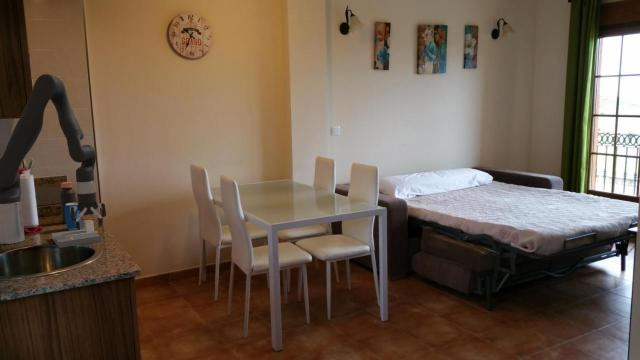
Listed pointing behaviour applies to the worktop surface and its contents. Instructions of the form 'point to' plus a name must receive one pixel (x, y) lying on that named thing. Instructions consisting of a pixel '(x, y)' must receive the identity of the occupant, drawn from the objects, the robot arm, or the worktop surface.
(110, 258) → the worktop surface
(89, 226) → the fader tab
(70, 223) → the beverage can
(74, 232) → the fader console
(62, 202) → the bottle
